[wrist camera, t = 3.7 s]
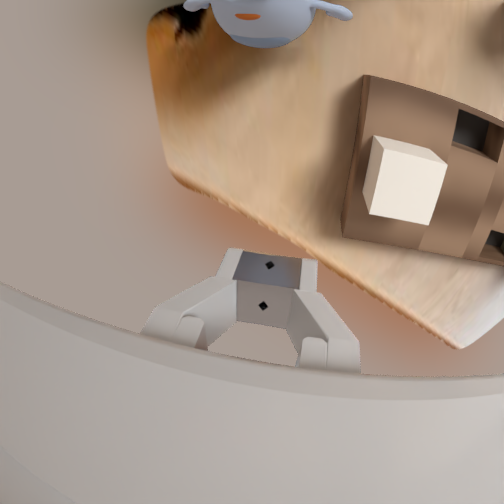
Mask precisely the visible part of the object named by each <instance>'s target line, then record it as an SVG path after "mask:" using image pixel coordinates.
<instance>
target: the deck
mask: <svg viewBox="0 0 504 504" xmlns="http://www.w3.org/2000/svg"><path fill="white" fill-rule="evenodd" d="M373 135H375V136H380V137H384V138H389V139H393V140H397V141H401V142H405V143H409V144H413V145H417V146H421V147H424V148H428V149H430V150H431V151H433V152H434V153H435V154H436V155H437V156H438V157H439V158H440V159H442V160H443V161H444V162H445V163H446V164H447V165H448V166H447V169H446V173H445V176H444V180H443V183H442V186H441V190H440V193H439V196H438V199H437V202H436V205H435V208H434V211H433V214H432V217H431V220H430V223H429V225H424V224H419V223H414V222H409V221H404V220H399V219H394V218H388V217H383V216H377V215H372V214H369V212H368V208H367V205H366V202H365V199H364V195H363V192H362V191H363V187H364V182H365V177H366V173H367V168H368V162H369V157H370V152H371V147H372V141H373ZM340 220H341V229H342V237H344V238H351V239H357V240H363V241H369V242H375V243H381V244H387V245H393V246H399V247H405V248H411V249H416V250H422V251H427V252H433V253H438V254H444V255H449V256H455V257H460V258H465V259H470V260H475V261H480V262H485V263H490V264H495V265H500V266H504V122H503V121H501V120H499V119H497V118H495V117H493V116H491V115H489V114H486V113H484V112H482V111H480V110H477V109H475V108H473V107H470V106H468V105H465V104H463V103H460V102H458V101H455V100H452V99H450V98H447V97H444V96H441V95H438V94H436V93H433V92H430V91H426V90H423V89H420V88H417V87H413V86H410V85H406V84H403V83H399V82H395V81H392V80H388V79H383V78H379V77H375V76H370V75H364V78H363V87H362V95H361V103H360V111H359V118H358V125H357V132H356V138H355V145H354V151H353V157H352V163H351V168H350V174H349V179H348V184H347V190H346V195H345V200H344V204H343V209H342V214H341V219H340Z"/></svg>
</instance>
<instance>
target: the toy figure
mask: <svg viewBox="0 0 504 504" xmlns="http://www.w3.org/2000/svg"><path fill="white" fill-rule="evenodd" d="M209 3H211V6H212V10H213V13H214V16H215V18H216V20H217V22H218V24H219V25H220V26H221V28H222V29H223V30H224V31H225V32H226V33H227V34H229V35H230V36H231V38H232V39H233V40H235V41H236V42H238V43H240V44H243V45H246V46H250V47H256V48H275V47H280V46H283V45H286V44H288V43H289V42H291V41H293V40H295V39H297V38H298V37H299V36H301V35H302V34H303V33H304V32H305V31H306V30H307V29H308V28H309V26H310V25H311V23H312V21H313V18H314V16H315V11H316V8H317V9H321V10H325V11H326V14H327V15H328V16H332V17H335V18H338V19H340V20H343V21H348V20H350V19H352V17H353V14H352V12H351V11H350V10H348V9H347V8H345V7H343V6H341V5H334V4H331V3H328V2H324V1H320V0H187V1H186V2H185V3H184V5H183V6H184V8H185V9H186V10H188V11H197V10H199V9H201V8H204V9H207V8H208V7H209Z"/></svg>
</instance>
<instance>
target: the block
mask: <svg viewBox="0 0 504 504" xmlns="http://www.w3.org/2000/svg"><path fill="white" fill-rule="evenodd" d="M447 166H448V165H447V164H446V163H445V162H444V161H443V160H442V159H440V158H439V157H438V156H437V155H436V154H435V153H434V152H433V151H431V150H430V149H428V148H424V147H421V146H417V145H413V144H409V143H405V142H401V141H397V140H393V139H389V138H384V137H380V136H375V135H373V141H372V147H371V152H370V157H369V162H368V168H367V173H366V177H365V182H364V187H363V191H362V192H363V195H364V199H365V202H366V205H367V208H368V212H369V214H372V215H377V216H383V217H388V218H394V219H399V220H404V221H409V222H414V223H419V224H424V225H429V223H430V220H431V217H432V214H433V211H434V208H435V205H436V202H437V199H438V196H439V193H440V190H441V186H442V183H443V180H444V176H445V173H446V169H447Z"/></svg>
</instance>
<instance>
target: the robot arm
mask: <svg viewBox="0 0 504 504" xmlns="http://www.w3.org/2000/svg"><path fill="white" fill-rule="evenodd" d="M317 264H318V262H317V260H315V259H306V258H295V257H287V256H280V255H273V254H268V253H263V252H257V251H251V250H243V249H238V248H231V247H230V248H228V249H227V251H226V254H225V256H224V258H223V260H222V262H221V265H220V267H219V269H218V271H217V274H216V275H215V277H214V276H210V277H208V278H206V279H205V280H203V281H201V282H199V283H197V284H196V285H194V286H192V287H190V288H188V289H187V290H185V291H183V292H181V293H180V294H178V295H176V296H174V297H172V298H171V299H169V300H167V301H165V302H163V303H161V304H160V305H158V306H156V307H155V308H154V310H153V312H152V314H151V315H150V317H149V319H148V320H147V322H146V324H145V325H144V327H143V329H142V331H141V333H140V334H139V333H135V332H132V331H129V330H126V329H122V328H119V327H116V326H113V325H110V324H106V323H104V322H100V321H97V320H95V319H92V318H88V317H86V316H83V315H80V314H77V313H75V312H72V311H69V310H66V309H64V308H61V307H58V306H56V305H53V304H51V303H48V302H46V301H43V300H41V299H38V298H36V297H34V296H31V295H29V294H27V293H24V292H21V291H20V290H17V289H15V288H13V287H11V286H9V285H7V284H4V283H2V282H0V504H504V373H503V374H491V375H474V376H446V377H445V376H443V377H421V376H418V377H417V376H387V375H370V374H361V369H360V346H359V341H358V340H357V338H356V337H355V336H354V335H353V333H352V332H351V331H350V329H349V328H348V327H347V326H346V324H345V323H344V322H343V320H342V319H341V318H340V317H339V315H338V314H337V313H336V312H335V310H334V309H333V308H332V307H331V305H330V304H329V303H328V301H327V300H326V299H325V298H324V296H323V295H322V294H321V293H317ZM236 321H241V322H247V323H254V324H261V325H266V326H272V327H277V328H283V329H286V331H287V333H288V335H289V337H290V339H291V341H292V343H293V345H294V347H295V349H296V351H297V353H298V358H297V361H296V365H295V367H293V366H287V365H280V364H273V363H267V362H261V361H256V360H250V359H245V358H239V357H234V356H229V355H224V354H219V353H215V352H210V351H208V349H207V347H208V346H209V345H210V344H211V343H213V342H214V341H215V340H216V339H217V338H219V337H220V336H221V335H222V334H223V333H225V332H226V331H227V330H228V329H229V328H230V327H232V325H234V324H235V323H236Z"/></svg>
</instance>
